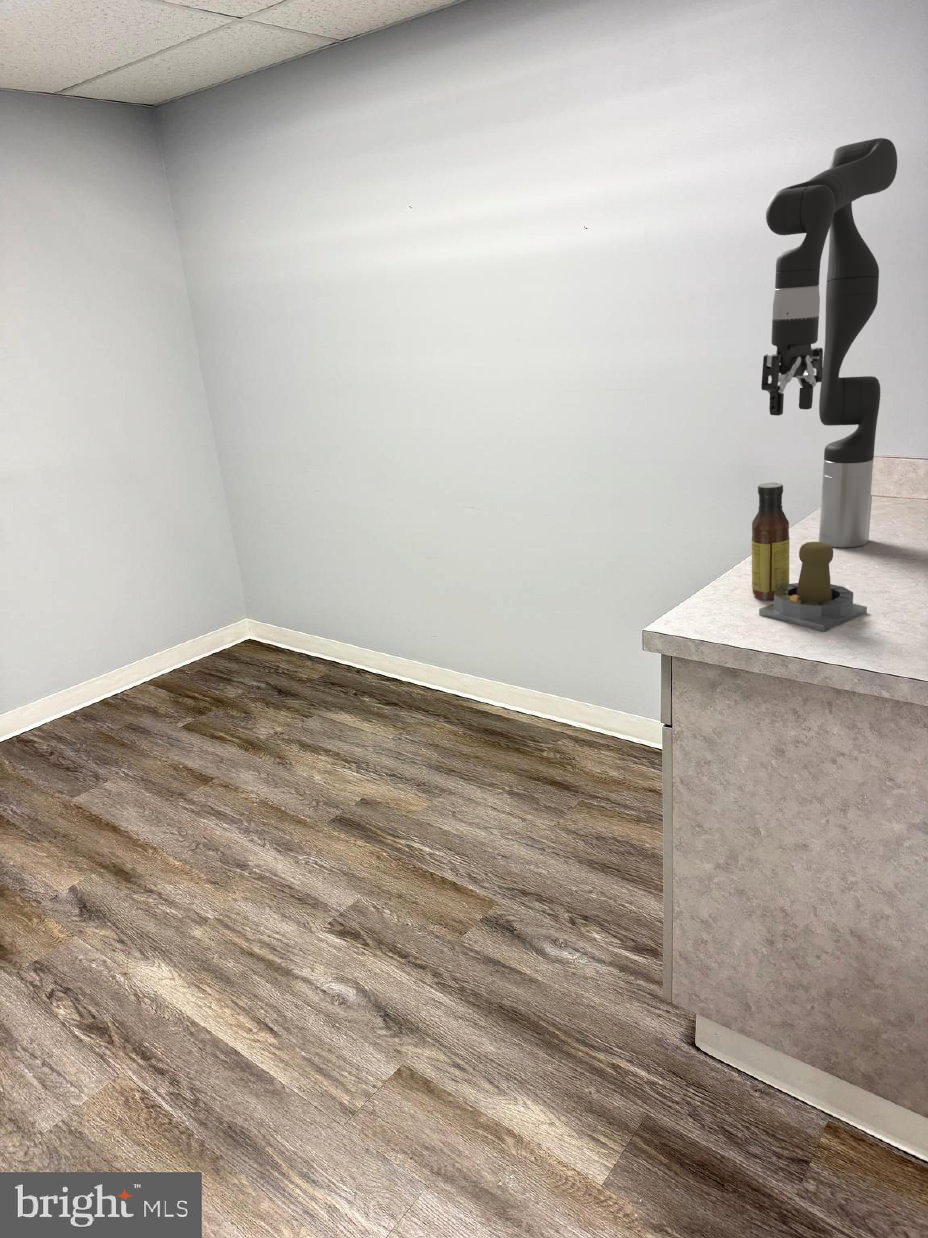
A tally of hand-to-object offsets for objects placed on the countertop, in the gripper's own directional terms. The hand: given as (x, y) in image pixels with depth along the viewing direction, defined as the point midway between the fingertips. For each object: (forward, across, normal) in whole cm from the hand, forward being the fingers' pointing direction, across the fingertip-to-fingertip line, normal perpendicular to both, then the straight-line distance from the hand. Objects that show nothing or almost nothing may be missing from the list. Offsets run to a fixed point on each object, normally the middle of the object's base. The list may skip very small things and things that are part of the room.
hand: (791, 411), depth 159 cm
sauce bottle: (+30, -12, -5) cm, 33 cm away
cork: (+29, -15, -16) cm, 37 cm away
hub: (+30, -15, -16) cm, 37 cm away
